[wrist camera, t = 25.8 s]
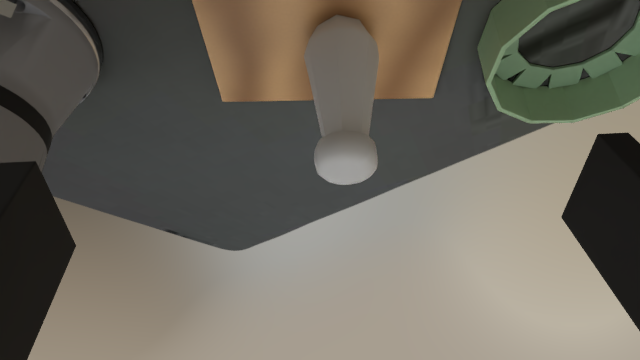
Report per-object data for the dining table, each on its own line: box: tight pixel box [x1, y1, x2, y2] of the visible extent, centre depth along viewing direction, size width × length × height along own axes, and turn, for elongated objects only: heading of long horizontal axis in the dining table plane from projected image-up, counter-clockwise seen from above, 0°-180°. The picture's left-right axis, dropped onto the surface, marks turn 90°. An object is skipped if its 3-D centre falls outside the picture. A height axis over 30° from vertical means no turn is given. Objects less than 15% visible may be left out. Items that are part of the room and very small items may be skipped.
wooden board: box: [192, 0, 462, 102], centre depth 38 cm, size 20×16×1 cm
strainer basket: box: [477, 0, 640, 123], centre depth 37 cm, size 15×15×4 cm
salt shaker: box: [304, 15, 379, 185], centre depth 35 cm, size 6×6×13 cm
